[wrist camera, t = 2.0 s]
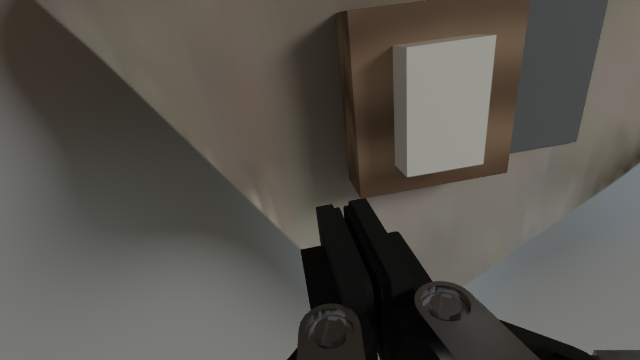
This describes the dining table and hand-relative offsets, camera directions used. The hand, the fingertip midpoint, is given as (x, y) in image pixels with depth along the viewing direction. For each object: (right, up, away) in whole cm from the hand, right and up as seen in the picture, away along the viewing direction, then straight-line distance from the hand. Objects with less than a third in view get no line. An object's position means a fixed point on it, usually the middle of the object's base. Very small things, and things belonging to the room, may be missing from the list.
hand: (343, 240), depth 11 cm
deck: (+8, +10, +18) cm, 21 cm away
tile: (+8, +8, +14) cm, 18 cm away
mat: (+19, +11, +19) cm, 29 cm away
